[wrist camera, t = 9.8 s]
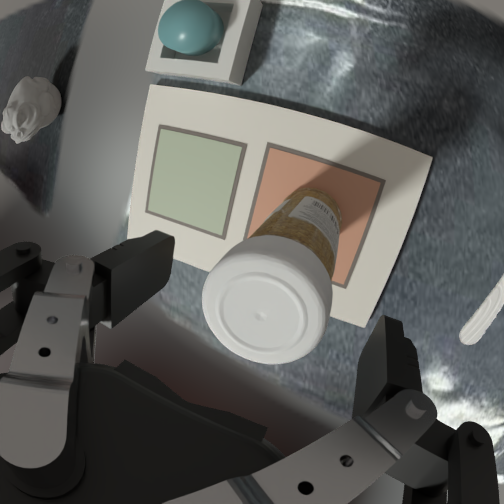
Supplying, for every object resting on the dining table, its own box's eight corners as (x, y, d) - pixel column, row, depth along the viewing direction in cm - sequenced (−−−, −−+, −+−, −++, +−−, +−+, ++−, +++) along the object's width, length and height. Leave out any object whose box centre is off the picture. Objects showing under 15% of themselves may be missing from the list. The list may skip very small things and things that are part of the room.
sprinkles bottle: (270, 199, 23) (176, 273, 11) (330, 177, 21) (300, 232, 9) (293, 256, 24) (229, 375, 12) (352, 238, 22) (344, 357, 10)
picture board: (430, 156, 20) (433, 157, 19) (364, 322, 25) (364, 328, 24) (155, 85, 24) (149, 84, 23) (132, 237, 29) (126, 239, 28)
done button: (229, 9, 18) (217, -1, 16) (215, 58, 20) (202, 51, 18) (181, 8, 19) (166, -1, 17) (168, 54, 20) (152, 48, 18)
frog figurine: (44, 144, 29) (-6, 152, 23) (39, 87, 27) (-10, 88, 21) (77, 129, 27) (22, 135, 21) (72, 67, 25) (19, 63, 19)
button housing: (263, 4, 19) (252, -8, 17) (241, 85, 22) (228, 80, 20) (183, 0, 20) (167, -9, 18) (163, 74, 23) (145, 70, 21)
